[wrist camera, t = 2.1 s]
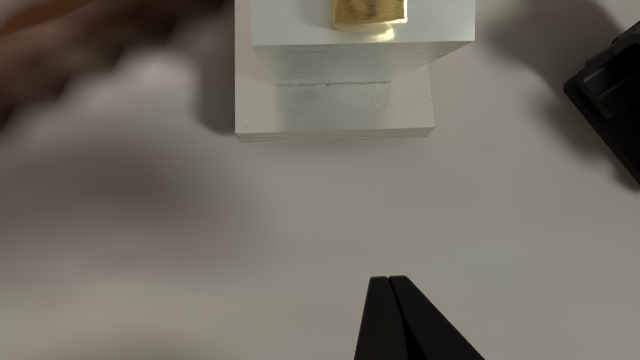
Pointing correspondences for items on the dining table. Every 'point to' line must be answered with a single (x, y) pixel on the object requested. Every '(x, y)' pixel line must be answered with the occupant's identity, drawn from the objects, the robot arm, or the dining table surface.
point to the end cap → (613, 97)
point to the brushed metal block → (356, 37)
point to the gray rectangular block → (323, 102)
